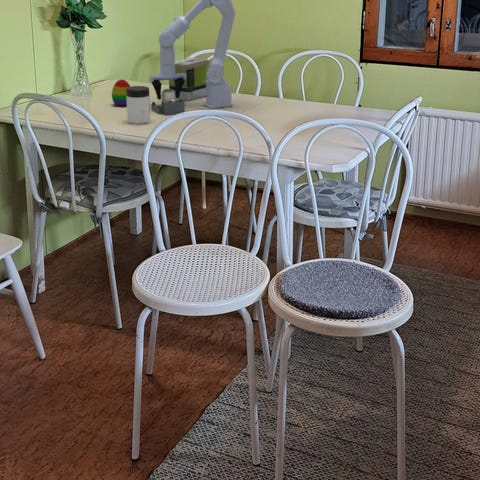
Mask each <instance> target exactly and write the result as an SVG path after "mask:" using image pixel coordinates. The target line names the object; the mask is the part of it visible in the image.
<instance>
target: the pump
mask: <svg viewBox="0 0 480 480" xmlns="http://www.w3.org/2000/svg"><path fill="white" fill-rule="evenodd" d="M169 99H175V91H174V90H173V89H169V88H165V89H164V88H163V90H161V103H162V102H164V101H169Z"/></svg>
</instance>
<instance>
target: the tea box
mask: <svg viewBox="0 0 480 480" xmlns="http://www.w3.org/2000/svg"><path fill="white" fill-rule="evenodd" d="M209 67H210V59H203V58H197V57H196V58H195V57H189V58H183V59H179V60H175V73H185V74H186V79H183V80H185V82H184V84H183V86H182V88H181V92H180V96H179V98H176V97H175V99H177V100H178V99H179V100H183V101H184V102H185V101H187V102H189V101H192V100H195V99H199V98H203V97H206V81H208V80H207V77H206V74H207V71H208V69H209ZM168 87H169V88H168V89H173V90H174V91H175V82H174V79H173V80H168Z"/></svg>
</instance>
